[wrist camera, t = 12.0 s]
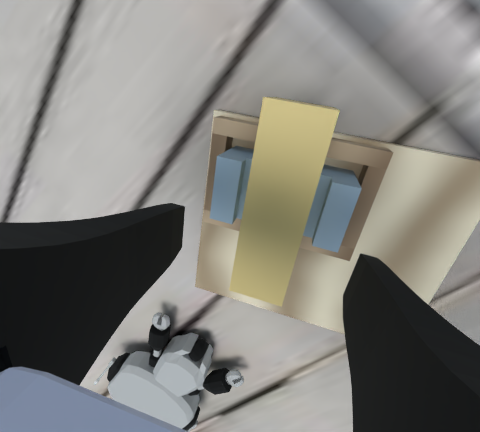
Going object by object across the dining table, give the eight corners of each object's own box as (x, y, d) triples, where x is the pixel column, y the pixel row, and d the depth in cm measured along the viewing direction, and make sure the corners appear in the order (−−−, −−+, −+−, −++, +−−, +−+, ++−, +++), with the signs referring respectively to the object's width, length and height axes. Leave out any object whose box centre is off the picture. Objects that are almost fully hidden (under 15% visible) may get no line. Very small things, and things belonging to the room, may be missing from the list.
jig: (500, 163, 16) (529, 174, 14) (396, 341, 23) (404, 368, 21) (218, 109, 19) (205, 111, 17) (199, 280, 26) (188, 297, 24)
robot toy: (168, 289, 29) (112, 359, 35) (145, 318, 25) (86, 391, 31) (256, 358, 29) (187, 415, 35) (248, 398, 25) (171, 455, 31)
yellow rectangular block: (289, 266, 18) (281, 306, 15) (246, 253, 19) (228, 290, 15) (334, 107, 14) (339, 110, 10) (277, 97, 14) (263, 96, 11)
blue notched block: (228, 197, 21) (209, 218, 17) (236, 145, 19) (217, 156, 15) (334, 224, 19) (337, 252, 16) (353, 170, 18) (361, 188, 14)
